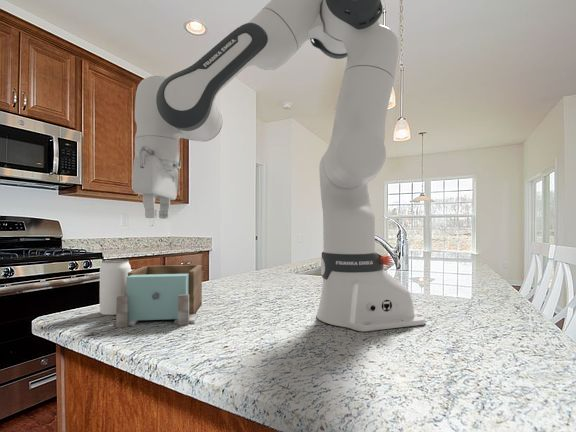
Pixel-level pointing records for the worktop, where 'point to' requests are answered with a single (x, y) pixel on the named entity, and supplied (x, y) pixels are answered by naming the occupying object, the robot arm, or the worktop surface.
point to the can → (112, 284)
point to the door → (155, 295)
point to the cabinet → (186, 302)
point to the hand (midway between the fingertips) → (157, 218)
